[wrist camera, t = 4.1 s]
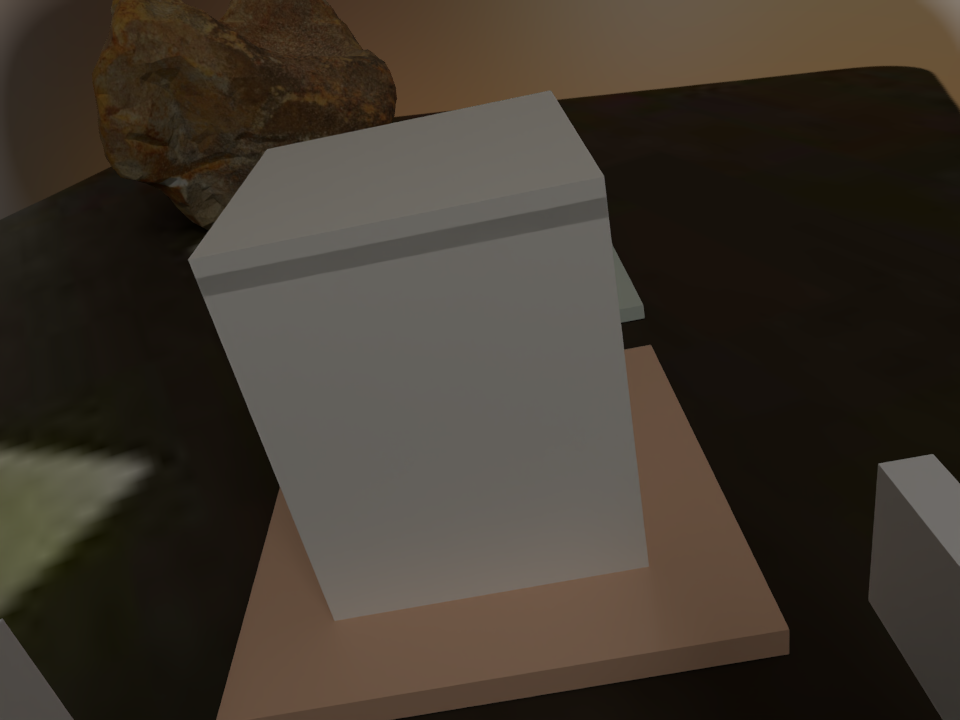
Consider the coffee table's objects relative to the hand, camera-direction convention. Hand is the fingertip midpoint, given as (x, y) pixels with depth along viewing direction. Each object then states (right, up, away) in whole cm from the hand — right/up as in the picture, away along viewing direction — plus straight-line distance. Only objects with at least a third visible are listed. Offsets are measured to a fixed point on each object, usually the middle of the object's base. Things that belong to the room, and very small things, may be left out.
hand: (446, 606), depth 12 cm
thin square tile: (+1, -1, +12) cm, 12 cm away
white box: (+1, 0, +11) cm, 11 cm away
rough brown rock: (-12, +16, +45) cm, 49 cm away
